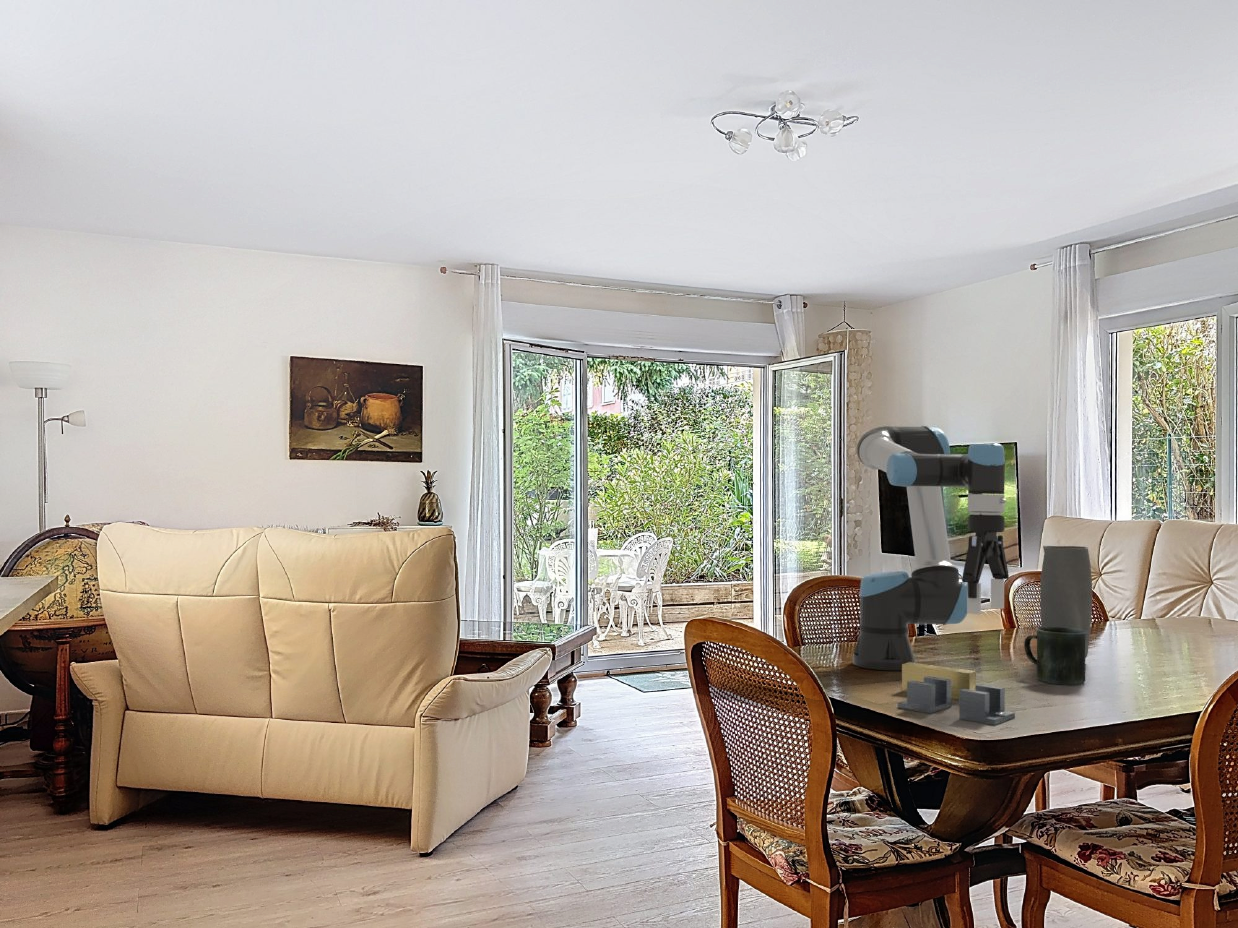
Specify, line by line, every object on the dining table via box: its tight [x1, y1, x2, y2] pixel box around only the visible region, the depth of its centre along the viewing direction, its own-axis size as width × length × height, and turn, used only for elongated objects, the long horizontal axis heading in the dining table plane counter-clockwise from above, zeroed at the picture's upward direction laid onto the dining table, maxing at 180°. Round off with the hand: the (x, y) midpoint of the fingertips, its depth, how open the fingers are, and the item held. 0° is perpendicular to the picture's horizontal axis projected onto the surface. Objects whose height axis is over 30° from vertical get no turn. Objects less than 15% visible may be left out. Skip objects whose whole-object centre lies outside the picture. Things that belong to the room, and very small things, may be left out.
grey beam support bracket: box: [958, 683, 1016, 726], centre depth 189 cm, size 7×9×6 cm
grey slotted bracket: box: [897, 676, 952, 715], centre depth 198 cm, size 7×9×6 cm
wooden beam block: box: [901, 662, 977, 701], centre depth 211 cm, size 15×4×6 cm, turn 49°
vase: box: [1039, 545, 1093, 659], centre depth 254 cm, size 12×12×30 cm
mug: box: [1023, 626, 1087, 686], centre depth 229 cm, size 11×15×12 cm
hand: (985, 610), depth 214 cm, fingers open, 13 cm apart
